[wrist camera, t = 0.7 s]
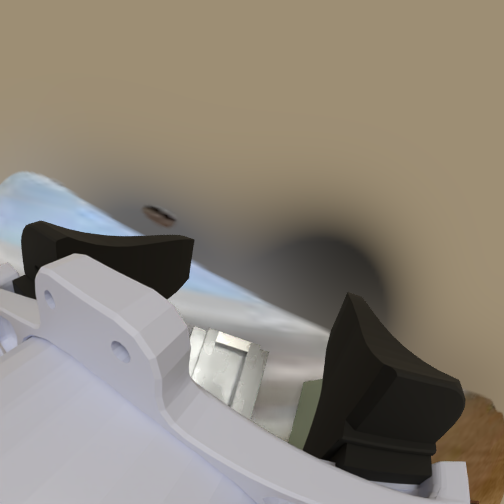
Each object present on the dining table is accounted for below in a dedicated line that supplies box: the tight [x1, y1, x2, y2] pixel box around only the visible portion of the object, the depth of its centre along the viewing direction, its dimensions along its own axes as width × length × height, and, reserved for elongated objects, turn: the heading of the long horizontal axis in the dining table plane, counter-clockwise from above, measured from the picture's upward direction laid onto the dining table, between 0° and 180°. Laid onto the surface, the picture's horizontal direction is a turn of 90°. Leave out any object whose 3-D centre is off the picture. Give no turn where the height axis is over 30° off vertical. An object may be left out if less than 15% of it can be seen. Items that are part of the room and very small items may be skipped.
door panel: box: [288, 379, 323, 450], centre depth 23 cm, size 8×2×6 cm, turn 164°
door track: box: [189, 326, 269, 420], centre depth 21 cm, size 20×8×2 cm, turn 164°
